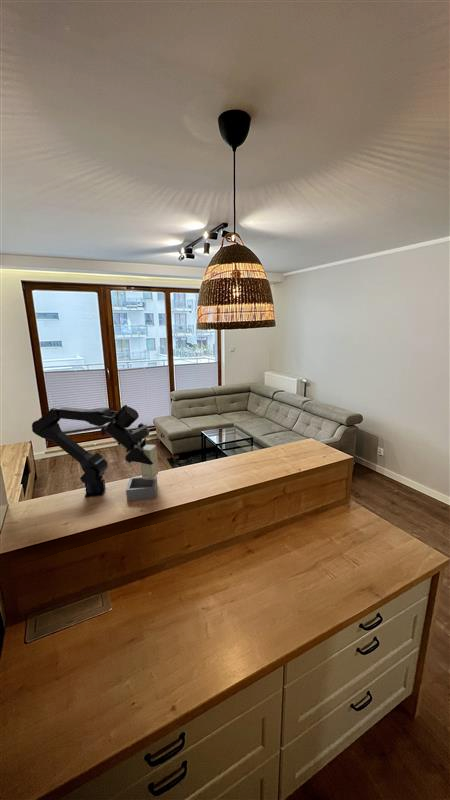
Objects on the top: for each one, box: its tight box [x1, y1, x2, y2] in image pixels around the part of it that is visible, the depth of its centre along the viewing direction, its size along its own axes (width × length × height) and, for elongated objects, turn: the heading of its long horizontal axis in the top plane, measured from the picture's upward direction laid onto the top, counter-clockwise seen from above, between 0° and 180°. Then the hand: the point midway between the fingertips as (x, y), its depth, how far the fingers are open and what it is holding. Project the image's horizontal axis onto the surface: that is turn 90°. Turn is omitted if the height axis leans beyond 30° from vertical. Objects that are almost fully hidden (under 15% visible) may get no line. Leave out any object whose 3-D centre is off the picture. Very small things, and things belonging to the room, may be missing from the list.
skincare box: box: [140, 443, 159, 480], centre depth 125 cm, size 6×4×12 cm
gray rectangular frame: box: [125, 475, 158, 502], centre depth 126 cm, size 10×10×4 cm
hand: (152, 460), depth 125 cm, fingers closed on skincare box, 7 cm apart
